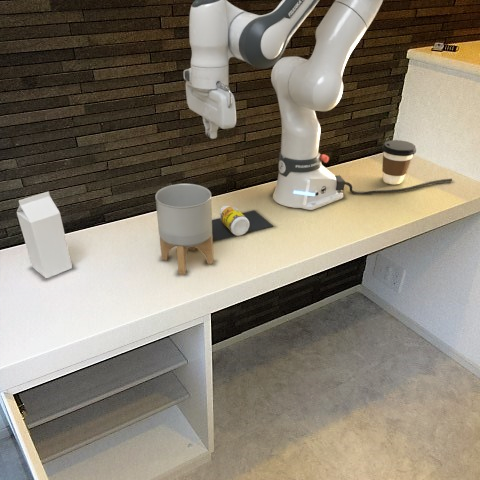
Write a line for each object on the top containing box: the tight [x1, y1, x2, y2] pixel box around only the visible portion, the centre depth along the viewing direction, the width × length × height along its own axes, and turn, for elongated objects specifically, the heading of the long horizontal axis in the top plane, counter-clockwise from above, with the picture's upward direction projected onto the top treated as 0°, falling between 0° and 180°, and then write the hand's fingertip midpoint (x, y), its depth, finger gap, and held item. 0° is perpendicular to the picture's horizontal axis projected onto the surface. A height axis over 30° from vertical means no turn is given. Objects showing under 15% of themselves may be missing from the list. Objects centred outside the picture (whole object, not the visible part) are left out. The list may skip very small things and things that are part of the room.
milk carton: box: [16, 191, 73, 280], centre depth 117 cm, size 7×7×19 cm
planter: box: [154, 183, 214, 275], centre depth 121 cm, size 13×13×18 cm
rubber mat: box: [212, 210, 274, 242], centre depth 142 cm, size 20×11×1 cm, turn 118°
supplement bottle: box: [219, 204, 249, 237], centre depth 138 cm, size 6×6×10 cm
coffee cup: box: [381, 139, 417, 185], centre depth 165 cm, size 11×11×12 cm
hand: (211, 136), depth 126 cm, fingers closed
